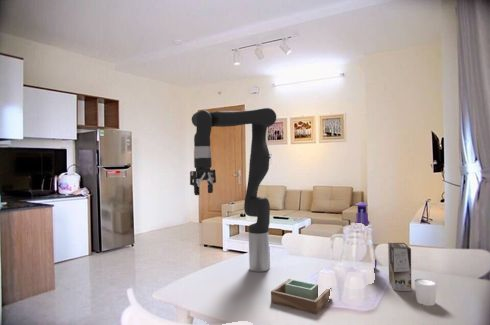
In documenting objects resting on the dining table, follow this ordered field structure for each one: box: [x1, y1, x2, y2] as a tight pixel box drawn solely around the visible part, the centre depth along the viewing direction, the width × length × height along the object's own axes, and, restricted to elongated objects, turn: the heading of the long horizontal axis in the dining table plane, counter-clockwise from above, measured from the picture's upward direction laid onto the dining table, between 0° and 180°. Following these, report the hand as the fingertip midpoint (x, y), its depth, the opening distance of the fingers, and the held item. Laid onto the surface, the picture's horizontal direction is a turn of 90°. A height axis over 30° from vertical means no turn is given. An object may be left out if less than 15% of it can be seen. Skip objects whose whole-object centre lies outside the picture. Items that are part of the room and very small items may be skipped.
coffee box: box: [387, 242, 412, 292], centre depth 129 cm, size 9×6×16 cm
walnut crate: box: [270, 278, 332, 315], centre depth 119 cm, size 14×17×4 cm
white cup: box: [414, 278, 438, 307], centre depth 115 cm, size 7×7×7 cm
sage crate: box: [285, 278, 319, 300], centre depth 119 cm, size 5×10×5 cm, turn 55°
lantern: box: [354, 201, 378, 269], centre depth 151 cm, size 13×12×30 cm
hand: (203, 194), depth 145 cm, fingers open, 8 cm apart
